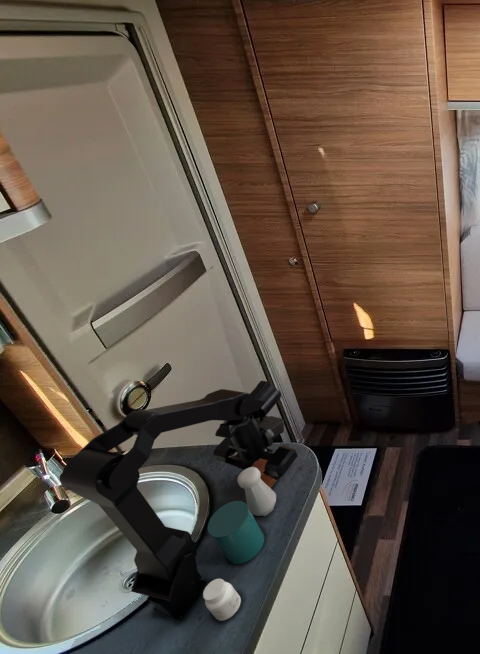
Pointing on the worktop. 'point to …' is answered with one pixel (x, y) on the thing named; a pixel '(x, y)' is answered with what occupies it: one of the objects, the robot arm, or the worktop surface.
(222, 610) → the pill bottle
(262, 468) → the brown lid
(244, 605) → the worktop surface
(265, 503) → the salt shaker
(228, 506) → the tin
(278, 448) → the robot arm
